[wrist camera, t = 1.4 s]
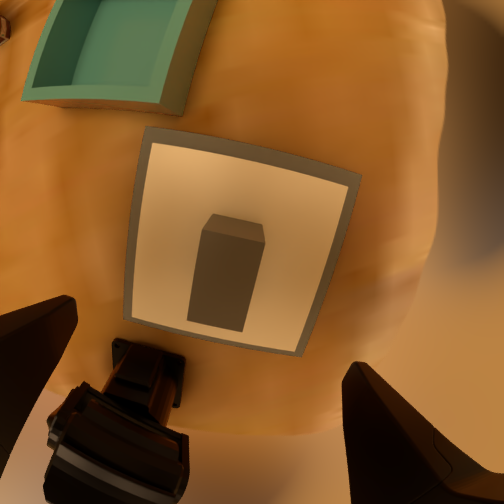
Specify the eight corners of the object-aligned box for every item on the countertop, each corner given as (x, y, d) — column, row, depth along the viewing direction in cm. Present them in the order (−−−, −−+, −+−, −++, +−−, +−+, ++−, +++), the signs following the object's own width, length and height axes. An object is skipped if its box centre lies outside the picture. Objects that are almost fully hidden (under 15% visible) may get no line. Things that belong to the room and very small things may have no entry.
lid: (293, 345, 21) (302, 389, 16) (135, 311, 20) (110, 348, 16) (344, 185, 17) (374, 195, 13) (156, 143, 17) (125, 139, 12)
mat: (299, 349, 22) (301, 357, 21) (127, 312, 21) (123, 319, 20) (356, 174, 18) (362, 175, 17) (150, 127, 17) (145, 126, 16)
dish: (182, 116, 17) (159, 103, 12) (62, 107, 16) (20, 101, 12) (220, -6, 14) (212, -44, 9) (100, -3, 13) (71, -29, 9)
